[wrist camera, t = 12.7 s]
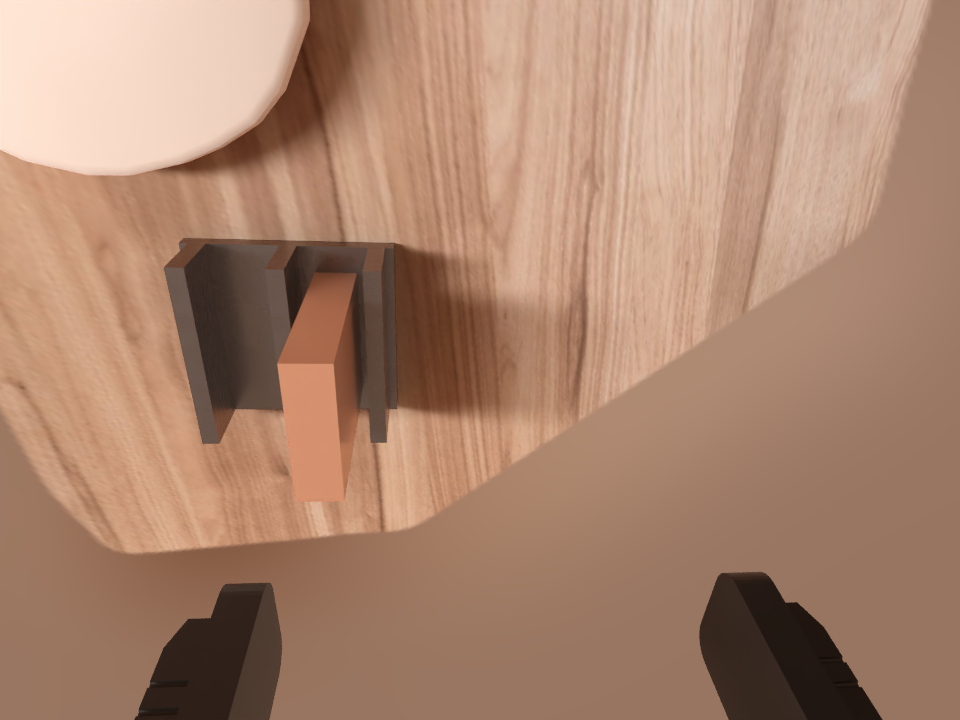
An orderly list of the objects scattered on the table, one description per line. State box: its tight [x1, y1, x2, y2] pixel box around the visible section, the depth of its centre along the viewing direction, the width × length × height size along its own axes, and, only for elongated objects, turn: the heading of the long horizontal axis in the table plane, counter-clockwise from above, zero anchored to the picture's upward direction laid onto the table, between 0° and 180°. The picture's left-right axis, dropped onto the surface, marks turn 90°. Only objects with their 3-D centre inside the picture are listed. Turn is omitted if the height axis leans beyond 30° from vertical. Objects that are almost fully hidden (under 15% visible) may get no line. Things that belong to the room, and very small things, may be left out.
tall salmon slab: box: [277, 272, 363, 502], centre depth 41 cm, size 10×3×13 cm, turn 177°
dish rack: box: [164, 238, 397, 444], centre depth 45 cm, size 14×15×6 cm
